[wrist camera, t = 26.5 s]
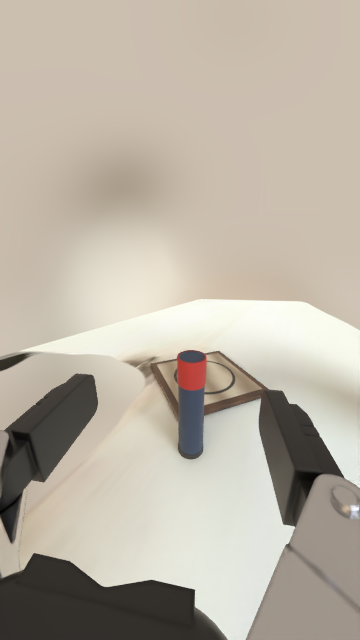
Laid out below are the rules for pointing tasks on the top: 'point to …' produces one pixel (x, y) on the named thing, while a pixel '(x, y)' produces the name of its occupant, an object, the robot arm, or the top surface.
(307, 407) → the top surface
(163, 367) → the sketch board
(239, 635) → the top surface
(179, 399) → the marker
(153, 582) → the robot arm
